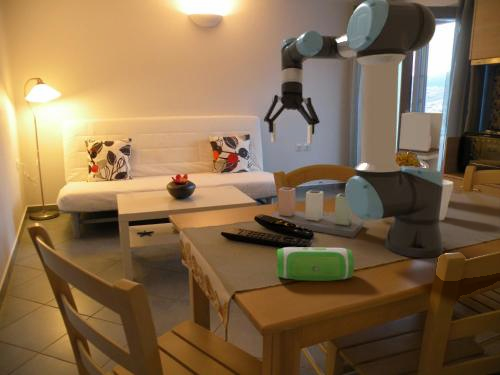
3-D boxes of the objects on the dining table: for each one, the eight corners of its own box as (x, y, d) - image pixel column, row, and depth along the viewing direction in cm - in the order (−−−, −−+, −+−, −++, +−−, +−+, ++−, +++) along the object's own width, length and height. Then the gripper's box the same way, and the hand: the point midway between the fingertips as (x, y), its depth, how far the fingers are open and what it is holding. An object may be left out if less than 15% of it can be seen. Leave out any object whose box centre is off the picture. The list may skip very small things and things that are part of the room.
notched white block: (395, 199, 166) (401, 113, 158) (407, 194, 173) (414, 112, 165) (422, 204, 158) (430, 114, 150) (434, 199, 165) (442, 113, 157)
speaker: (277, 284, 94) (277, 254, 92) (276, 270, 101) (276, 242, 99) (353, 285, 93) (355, 254, 91) (347, 271, 100) (349, 243, 98)
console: (281, 214, 147) (281, 208, 147) (363, 226, 133) (363, 220, 132) (265, 223, 137) (265, 217, 137) (353, 237, 123) (353, 231, 122)
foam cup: (418, 219, 140) (421, 182, 137) (421, 212, 148) (424, 177, 145) (448, 223, 135) (452, 185, 132) (449, 215, 143) (453, 180, 140)
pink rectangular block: (283, 211, 142) (283, 186, 140) (295, 213, 140) (295, 187, 138) (278, 214, 139) (278, 188, 137) (290, 216, 137) (290, 189, 134)
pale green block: (338, 219, 132) (339, 192, 130) (351, 222, 130) (353, 194, 128) (334, 223, 129) (335, 195, 127) (348, 225, 127) (349, 196, 125)
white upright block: (309, 215, 137) (310, 189, 135) (322, 217, 135) (323, 190, 133) (305, 218, 134) (306, 191, 132) (318, 220, 132) (319, 193, 130)
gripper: (320, 88, 150) (320, 145, 149) (255, 83, 144) (255, 142, 143) (328, 83, 143) (328, 142, 142) (261, 77, 137) (260, 139, 136)
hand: (291, 142), depth 143 cm, fingers open, 13 cm apart
